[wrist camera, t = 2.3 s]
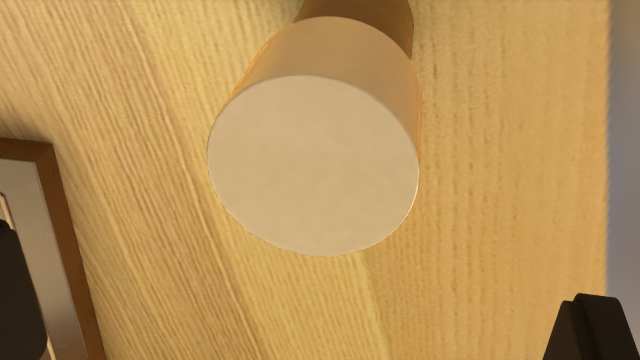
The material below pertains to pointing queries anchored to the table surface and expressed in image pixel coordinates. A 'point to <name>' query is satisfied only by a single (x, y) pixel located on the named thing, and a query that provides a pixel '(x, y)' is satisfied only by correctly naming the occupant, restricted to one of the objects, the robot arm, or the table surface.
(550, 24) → the table surface
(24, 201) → the board
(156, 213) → the table surface
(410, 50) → the stand
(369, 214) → the beige short cylinder
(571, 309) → the robot arm
